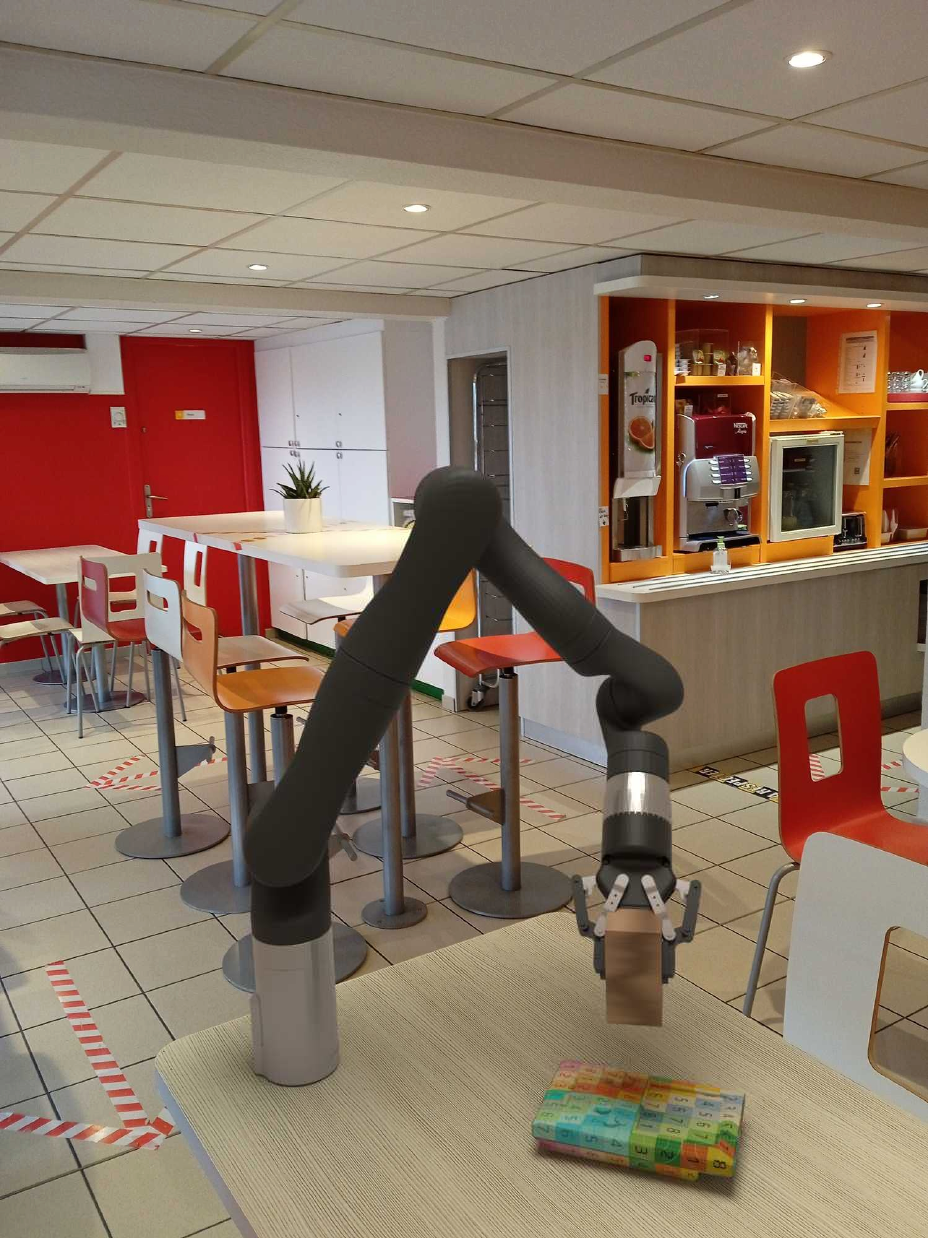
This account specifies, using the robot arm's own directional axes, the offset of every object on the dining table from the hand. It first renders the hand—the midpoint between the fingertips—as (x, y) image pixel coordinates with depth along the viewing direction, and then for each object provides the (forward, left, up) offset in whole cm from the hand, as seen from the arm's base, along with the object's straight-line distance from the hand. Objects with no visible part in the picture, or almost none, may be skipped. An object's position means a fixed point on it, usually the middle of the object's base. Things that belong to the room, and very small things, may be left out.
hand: (634, 979), depth 103 cm
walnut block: (0, +2, -5) cm, 5 cm away
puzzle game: (0, +1, -19) cm, 19 cm away
